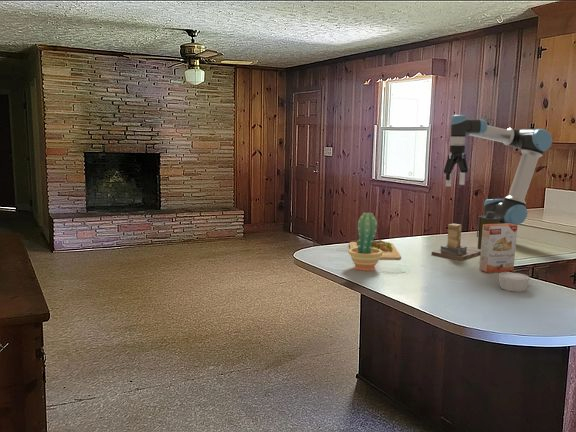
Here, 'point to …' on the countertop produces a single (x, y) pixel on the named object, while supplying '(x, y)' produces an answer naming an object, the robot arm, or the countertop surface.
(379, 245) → the cutting board
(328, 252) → the countertop surface
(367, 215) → the potted cactus
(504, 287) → the ramekin
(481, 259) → the cracker box
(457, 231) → the oak peg
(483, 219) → the canister
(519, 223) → the robot arm
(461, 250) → the wick stand
